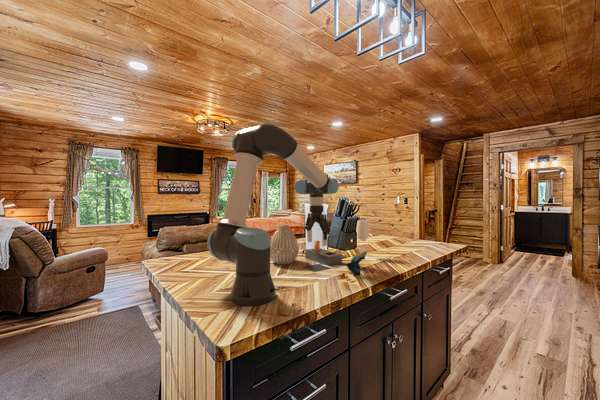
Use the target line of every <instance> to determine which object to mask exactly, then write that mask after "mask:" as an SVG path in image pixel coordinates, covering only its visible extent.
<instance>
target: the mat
mask: <svg viewBox="0 0 600 400" xmlns="http://www.w3.org/2000/svg"><path fill="white" fill-rule="evenodd" d="M302 268H304V269H306V270H309V271H311V272H313V273H315V272H316V273H317V272H321V271H326V270H331V269H332V268H331V267H330V266H327V265H324V264H321V263H316V264H311V265H305V266H304V265H303V266H302Z"/></svg>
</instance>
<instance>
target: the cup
mask: <svg viewBox="0 0 600 400" xmlns="http://www.w3.org/2000/svg"><path fill="white" fill-rule="evenodd" d="M370 231H371V230H370V220H369V219H368V220H367V219H359V220H357V222H356V233H357V237H358V239H359V240H360V241H361V242H365V241H367V239H369V236H370Z"/></svg>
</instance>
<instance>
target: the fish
mask: <svg viewBox="0 0 600 400" xmlns="http://www.w3.org/2000/svg"><path fill="white" fill-rule="evenodd" d="M367 254H368V251H363V252H361V253H360V254H355V255H354V256H352V258H351V260H350V262H347V263H346V266H347V269H348V270H349V272H351V273H352V274H354V275H356V276H358V275H360V274H361V273H362V272H361V271H362V270H361V265H360V262H362V261H363V260H364V261H366V257H367Z"/></svg>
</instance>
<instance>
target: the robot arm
mask: <svg viewBox="0 0 600 400" xmlns="http://www.w3.org/2000/svg"><path fill="white" fill-rule="evenodd" d="M231 147H232V149H233V150H232V151H233V154H234V159H235V160H236V164H235V167H234V172H233V176H232V180H231V185H230V188H229V193H228V196H227V201H226V205H225V208H224V213H223V218H222V219H221V220H219V221H217V225H216V227H215V229H213V231H212V232H210V234H208V238H207V242H206V244H207V246H206V247H207V250H208V252H209V253H210V255H211V256H213V258H214V259H218V260H219V261H222V262H224V261H225V262H227V263H228V262H229V263H233V264H235V278H234V281H233V284H232V287H231V291H230V301H231V302H232V303H234V304H236V305H239V306H244V307H245V306H247V307H248V306H249V307H251V306H253V307H254V306H261V305H264V304H267V303H270V302H271V301H273V300H274V299H275V298H276V287H275V284H274V281H273V279H272V275H271V258H270V245H271V244H270V239H271V238H270V237H271V235H270V232H268V231H267V230H265V229H262V228H258V227H252V226H251V227H250V226H248V225H247V224H246V222H247V217H248V212H249V209H250V204H251V201H252V200H251V199H252V195H253V191H254V190H253V189H254V186H255V180H256V176H257V172H258V169H259V168H258V167H259V166H260V165H262V164H263V163H264V158H265V156H266V155H274V156H277V158H279V159H281V160H285V161H286V162H287V163H288V164H289V165H291V166H292V167H293V168H294V169H295V170H296V171H297V172H298V173H299V174H300V175H301V176H303V177H304V178H305V179H304V178H303V179H302V178H301V179H297V180H296V181H295V182H294V187H293V188H294V191H295V193H296V194H297V195H309V212H310V213H307V218H306V222H305V225H306V226H305V225H304V229H305V230H306V239H307V240H306V241H307V243H312V242H313V230H312V228H313V226H314V225H315V223H317V224H318V225H319V228H320V229H321V232H322V233H321V246H322V247H325V246H328V233H331V229H330V226H329V223H328V220H327V214H323V213H324V195H334V194H337V192H338V191H339V187H340V185H339V180H338V179H337V178H335V177H328V176H327V175H326V173H325V172H324V171H323V170H322V169H321V168H320V167H319V166H318V165H317V164H316V163H315V162H314V161H313V160H312V159H311V158H310V157H309V156H308V155H307V154H306V153H305V152H304V151H303V150H302V149H301V148H300V147H299V146H298V142H297V140H296V139H295V137H293V136H292V134H290V133H288V131H286V130H285V129H283V128H281V127H279V126H278V125H275V124H272V123H260V124H258V125H255V126H250V127H244V128H242V129H240V130H237V132H236V133H235V134H234V135H233V137H232V140H231Z"/></svg>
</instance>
